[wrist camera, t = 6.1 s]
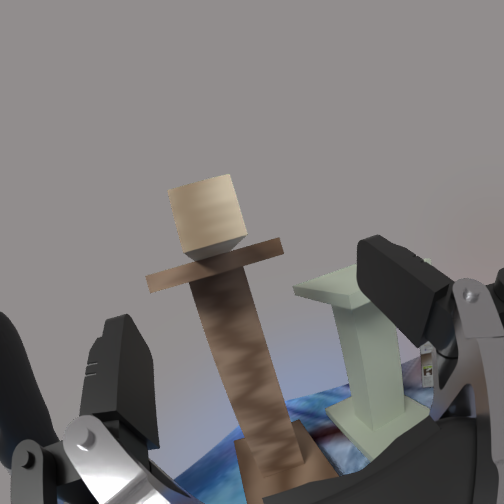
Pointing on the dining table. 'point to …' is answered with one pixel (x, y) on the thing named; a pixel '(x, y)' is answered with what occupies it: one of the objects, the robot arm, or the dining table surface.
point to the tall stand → (249, 372)
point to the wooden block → (207, 217)
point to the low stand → (366, 365)
